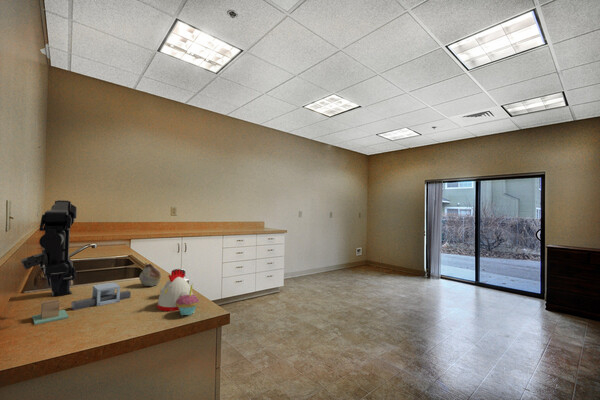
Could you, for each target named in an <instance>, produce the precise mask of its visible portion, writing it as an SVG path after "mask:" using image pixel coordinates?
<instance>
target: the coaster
mask: <svg viewBox="0 0 600 400" xmlns="http://www.w3.org/2000/svg"><path fill="white" fill-rule="evenodd" d="M31 317H32V321H33V323H34V324H33V325H34V326H36V325H37V326H38V325H42V324H45V323H51V322H55V321H60V320H61V321H62V320H66V319H68V318H69V317H70V316H69V314H68V312H67V311H66V309H59V316H57V317H52V318H47V319H42V318H41V313H39V314H35V315H31Z"/></svg>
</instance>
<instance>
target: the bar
mask: <svg viewBox="0 0 600 400" xmlns="http://www.w3.org/2000/svg"><path fill="white" fill-rule="evenodd" d="M116 294H117V292H115V293H113V294H108V295H103V296H100V302H102V301H107V300H112V299H116ZM131 294H132V293H131V291H130V290H124V291H120V301H122V300H127V299H131ZM96 302H97V297H93V298H92V297H88V298H84V299H79V300H73V301H71V304H70V305H71V308H70V309H71V310H72V311H77V310H80V309H85V308H90V307H94V306H96Z"/></svg>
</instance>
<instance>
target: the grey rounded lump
mask: <svg viewBox="0 0 600 400" xmlns="http://www.w3.org/2000/svg"><path fill="white" fill-rule="evenodd" d="M144 265H145V266H143V270H142V271H141V272H140V274H139V276H138V277H139V281H140V283H141V285H142V286H144V287H154V285H155V286H156V285H158V284H159V283H160V281H161V279H162V275H161V271H160V270H159V269H158V268H157V267H155V266H154V265H153V264H151V263H148V264H147V262H145V263H144Z"/></svg>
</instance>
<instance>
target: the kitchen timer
mask: <svg viewBox="0 0 600 400" xmlns="http://www.w3.org/2000/svg"><path fill="white" fill-rule="evenodd" d="M177 269H178V271H177V270H175V269H174V270H175V273H174V272H173V271H172V270H171V272H170V273H171V274H168V279H169V280H167V281H168V282H167V281H166V283H165V285H164V286H163V287H161V288H160V290H159V291H160V294H159V296H158V300H157V306H156V307H157V309H158V310H159V309H160V310H159V311H162V310H163V312H176V311H175V310H179V308H178V307H177V306H176V305H175V303H176V300H177V299H178V298H179V297H181V296H183V295H189V294H190V288H191V285H190V283H189V284H188V282H187V281H186V280H185V279H186V278H184V275H185V276H186V272H185V273H183V271H180V269H181V268H177ZM182 273H183V274H182ZM183 278H184V279H183ZM191 295H194V293H193V291H192V292H191ZM179 311H180V310H179Z"/></svg>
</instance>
